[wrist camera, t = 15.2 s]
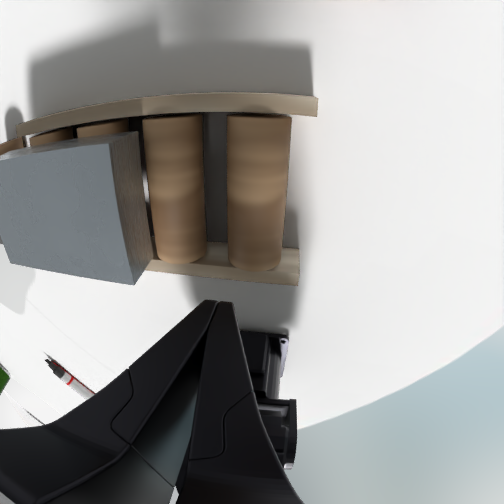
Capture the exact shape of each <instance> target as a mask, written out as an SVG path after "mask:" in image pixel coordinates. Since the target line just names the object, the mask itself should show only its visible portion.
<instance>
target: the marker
mask: <svg viewBox="0 0 504 504" xmlns="http://www.w3.org/2000/svg"><path fill="white" fill-rule="evenodd" d="M45 361H46V362H47V363H48V364H49V365H48V366H49V367H50V368H51V369H52V370H53V373H54V374H55V375H56V376H58V377H59V378H60V379H61V380H62V381H63V382H64V383H66V384H67V385H68V386H69V387H71V388H72V389H73V390H74V391H76V392H77V393H78V394H80V395H81V396H82V397H84V398H85V399H86V400H88V399H89V398H91V397H92V396H93V395H95V394H94V393H93V392H92V391H90V390H89V389H88V388H86V387H85V386H84V385H83V384H81V383H80V382H79V381H78V380H76V379H75V378H74V377H73V376H72V375H70V374H69V373H68V372H67V371H65V370H64V369H63V368H62V367H61V366H60V365H57V364H56V363H54V362H53V361H49V360H48V359H46V360H45Z"/></svg>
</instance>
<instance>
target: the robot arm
mask: <svg viewBox="0 0 504 504" xmlns="http://www.w3.org/2000/svg"><path fill="white" fill-rule="evenodd" d="M288 343H289V337H288V336H286V335H278V334H267V333H256V332H247V331H239V326H238V322H237V318H236V313H235V309H234V304H233V303H232V302H224V301H220V302H218V301H216V300H204V301H203V302H202V303H201V304H200V305H198V306H197V307H196V308H195V309H194V310H193V311H192V312H191V313H189V314H188V315H187V316H186V317H185V318H184V319H183V320H181V321H180V322H179V323H178V324H177V325H176V326H175V327H174V328H172V329H171V330H170V331H169V332H168V333H167V334H166V335H165V336H163V337H162V338H161V339H160V340H159V341H158V342H157V343H155V344H154V345H153V346H152V347H151V348H150V349H149V350H147V351H146V352H145V353H144V354H143V355H142V356H141V357H140V358H138V359H137V360H136V361H135V362H134V363H133V364H132V365H130V366H129V369H126V370H125V371H123V372H122V373H121V374H120V375H119V376H118V377H117V378H115V379H114V380H113V381H112V382H110V383H109V384H108V385H107V386H106V387H104V388H103V389H102V390H100V391H99V392H97V393H96V394H95V395H93V396H92V397H91V398H89V399H88V400H86V401H85V402H83V403H82V404H80V405H79V406H77V407H76V408H74V409H73V410H71V411H70V412H68V413H67V414H66V415H64V416H63V417H61V418H59V419H58V420H56V421H54V422H52V423H49V424H46V425H42V426H36V427H27V428H14V429H0V504H169V503H170V499H171V496H172V493H173V490H174V488H173V487H175V486H176V488H177V491H178V493H179V496H178V499H177V501H176V504H304V503H303V501H302V500H301V499H300V497H299V496H298V495H297V493H296V492H295V490H294V488H293V487H292V485H291V483H290V482H289V479H288V478H287V476H286V474H285V472H284V469H292V467H293V464H294V459H295V453H296V444H297V410H296V399H290V400H283V399H278V397H279V384H280V377H282V376H283V371H284V365H285V360H286V354H287V349H288Z"/></svg>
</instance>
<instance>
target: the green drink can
mask: <svg viewBox="0 0 504 504" xmlns="http://www.w3.org/2000/svg"><path fill="white" fill-rule="evenodd" d="M10 376H11V375H10V373H9V372H8V371H7V370H6V369H5V368H4V367H3V366H2V365H0V395H1V393H2V391H3V390H4V388H5V386H6V385H7V383H8V381H9V380H10Z"/></svg>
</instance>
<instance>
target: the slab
mask: <svg viewBox="0 0 504 504" xmlns="http://www.w3.org/2000/svg"><path fill="white" fill-rule="evenodd" d="M0 236H1V239H2V242H3V244H4V247H5V250H6V252H7V255H8V258H9V260H10V263H12V264H17V265H22V266H27V267H32V268H37V269H42V270H47V271H52V272H57V273H63V274H68V275H74V276H79V277H85V278H91V279H97V280H103V281H109V282H116V283H122V284H129V285H135V284H136V282H137V281H138V279H139V278H140V276H141V275H142V273H143V272H144V270H145V269H146V267H147V266H148V264H149V263H150V261H151V260H152V259H153V257H154V255H153V250H152V244H151V238H150V231H149V225H148V218H147V211H146V203H145V196H144V187H143V179H142V169H141V159H140V148H139V135H138V131H135V132H123V133H113V134H104V135H96V136H88V137H81V138H74V139H68V140H62V141H56V142H50V143H45V144H40V145H35V146H30V147H25V148H21V149H17V150H12V151H9V152H7V153H5V154H3V155H0Z"/></svg>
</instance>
